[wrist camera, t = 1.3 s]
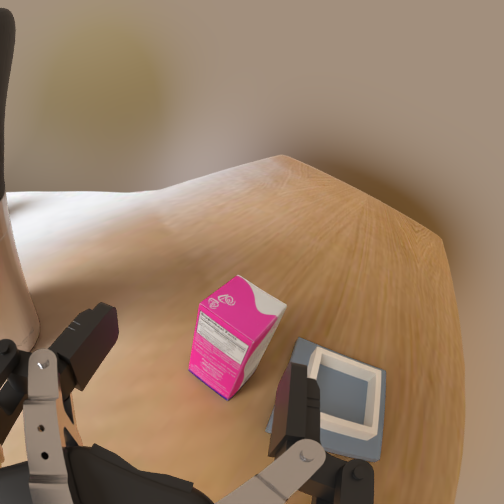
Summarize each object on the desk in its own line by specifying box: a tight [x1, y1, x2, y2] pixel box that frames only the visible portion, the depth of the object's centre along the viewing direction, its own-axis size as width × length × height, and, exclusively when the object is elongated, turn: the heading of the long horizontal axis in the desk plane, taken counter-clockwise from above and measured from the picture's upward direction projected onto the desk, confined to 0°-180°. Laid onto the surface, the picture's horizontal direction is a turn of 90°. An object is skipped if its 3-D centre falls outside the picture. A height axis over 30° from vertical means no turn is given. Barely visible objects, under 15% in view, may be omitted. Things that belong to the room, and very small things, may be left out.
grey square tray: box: [265, 337, 386, 462], centre depth 29 cm, size 14×14×3 cm
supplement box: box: [189, 275, 287, 401], centre depth 27 cm, size 6×6×12 cm
